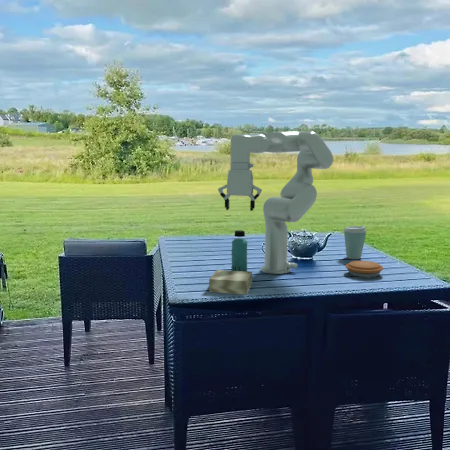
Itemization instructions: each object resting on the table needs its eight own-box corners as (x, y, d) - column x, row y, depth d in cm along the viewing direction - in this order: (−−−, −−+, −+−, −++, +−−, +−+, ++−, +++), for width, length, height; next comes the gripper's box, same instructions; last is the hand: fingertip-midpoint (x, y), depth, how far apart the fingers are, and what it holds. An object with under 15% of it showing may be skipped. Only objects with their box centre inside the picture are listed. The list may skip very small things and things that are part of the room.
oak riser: (251, 284, 218) (252, 271, 217) (246, 294, 204) (246, 281, 203) (216, 282, 220) (216, 269, 219) (209, 292, 207) (209, 279, 206)
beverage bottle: (246, 277, 228) (247, 229, 224) (247, 281, 221) (248, 232, 218) (230, 277, 228) (231, 229, 224) (231, 281, 221) (231, 232, 218)
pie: (387, 273, 237) (387, 261, 236) (377, 281, 223) (377, 269, 222) (351, 268, 244) (352, 257, 243) (339, 276, 231) (340, 264, 230)
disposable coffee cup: (341, 259, 260) (343, 227, 258) (342, 254, 271) (344, 224, 268) (365, 260, 258) (366, 229, 255) (365, 255, 268) (366, 225, 266)
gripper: (263, 166, 219) (262, 209, 222) (220, 165, 222) (220, 208, 225) (260, 167, 212) (260, 212, 215) (216, 166, 215) (216, 210, 218)
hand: (239, 210), depth 220 cm, fingers open, 9 cm apart
